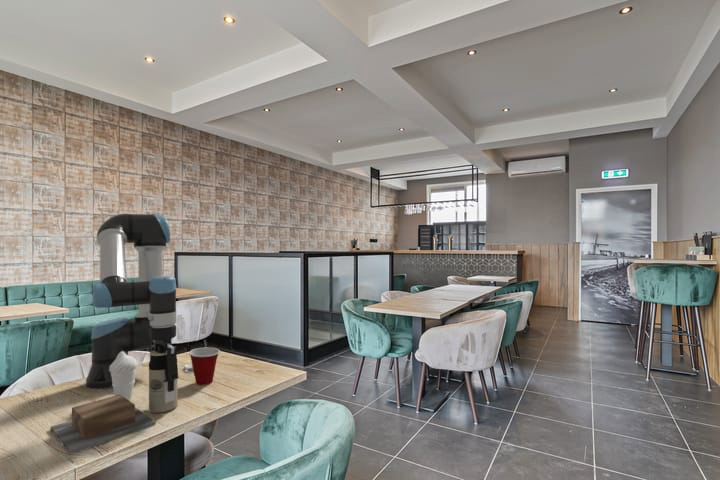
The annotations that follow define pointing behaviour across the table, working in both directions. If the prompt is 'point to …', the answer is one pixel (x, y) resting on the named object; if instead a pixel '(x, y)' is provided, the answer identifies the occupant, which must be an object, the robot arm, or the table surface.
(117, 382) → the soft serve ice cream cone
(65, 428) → the base
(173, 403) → the travel mug
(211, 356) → the plastic cup
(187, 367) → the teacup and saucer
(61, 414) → the table surface
